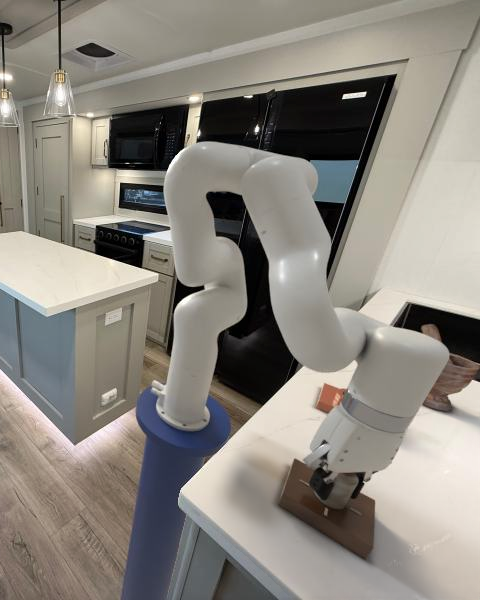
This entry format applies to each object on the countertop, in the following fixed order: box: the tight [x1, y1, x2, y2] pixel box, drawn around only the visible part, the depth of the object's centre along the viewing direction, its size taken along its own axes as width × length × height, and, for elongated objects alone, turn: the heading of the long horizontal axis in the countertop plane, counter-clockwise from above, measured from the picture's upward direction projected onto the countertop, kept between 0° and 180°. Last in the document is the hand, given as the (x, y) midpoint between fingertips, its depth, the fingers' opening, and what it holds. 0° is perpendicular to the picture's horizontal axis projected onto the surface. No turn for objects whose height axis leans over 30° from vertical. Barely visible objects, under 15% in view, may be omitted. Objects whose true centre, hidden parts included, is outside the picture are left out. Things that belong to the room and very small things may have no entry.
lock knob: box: [314, 465, 359, 509], centre depth 52 cm, size 4×4×6 cm
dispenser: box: [315, 382, 347, 414], centre depth 77 cm, size 12×10×4 cm
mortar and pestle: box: [420, 323, 480, 412], centre depth 79 cm, size 12×9×20 cm
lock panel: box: [277, 457, 376, 560], centre depth 54 cm, size 12×10×3 cm
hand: (331, 490), depth 53 cm, fingers closed on lock knob, 4 cm apart
